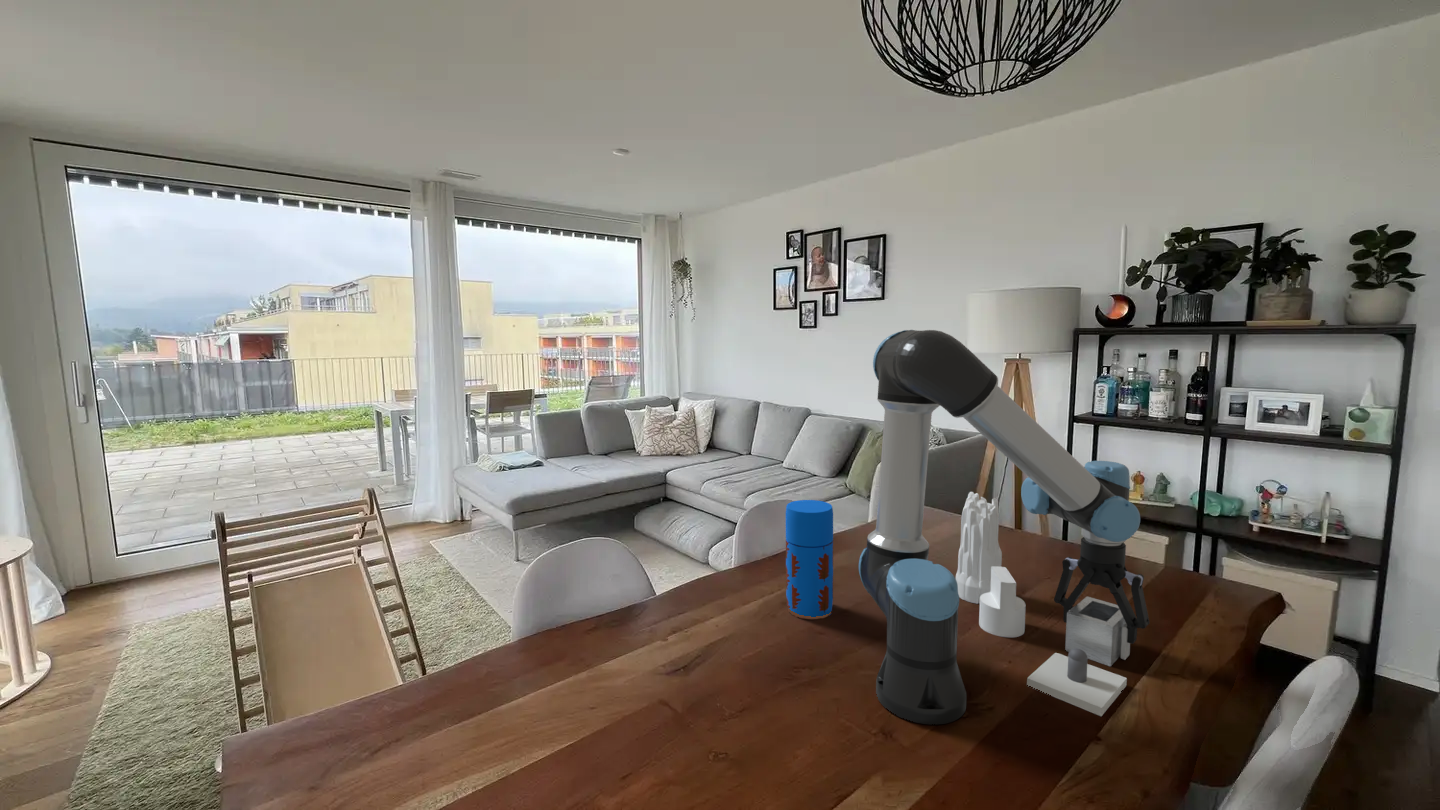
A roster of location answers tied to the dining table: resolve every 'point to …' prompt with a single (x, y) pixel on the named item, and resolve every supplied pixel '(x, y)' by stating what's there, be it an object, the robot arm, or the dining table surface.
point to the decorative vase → (977, 547)
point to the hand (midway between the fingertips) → (1097, 647)
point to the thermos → (809, 557)
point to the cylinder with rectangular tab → (1002, 606)
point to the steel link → (1095, 630)
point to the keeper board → (1077, 681)
